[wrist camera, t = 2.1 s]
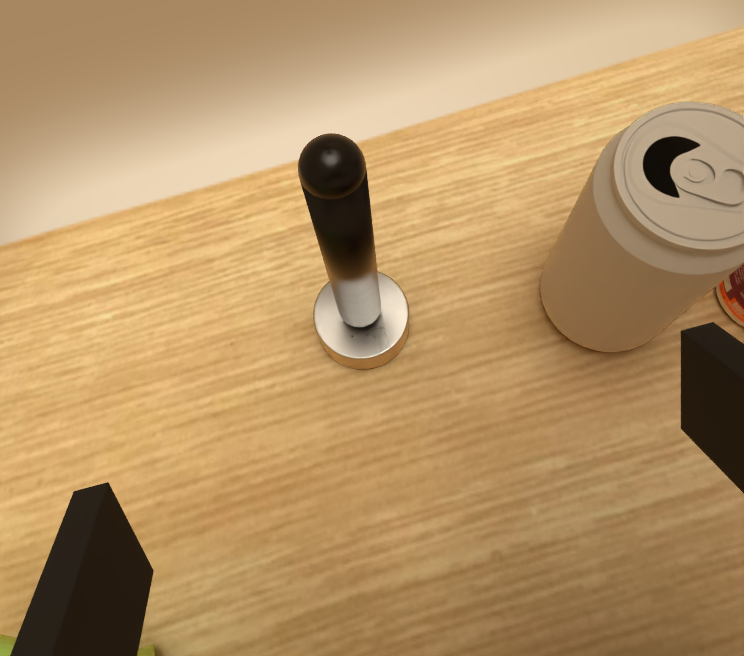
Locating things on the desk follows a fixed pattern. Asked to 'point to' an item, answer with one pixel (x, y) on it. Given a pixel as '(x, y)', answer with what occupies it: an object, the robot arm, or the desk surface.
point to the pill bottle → (733, 295)
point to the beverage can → (650, 228)
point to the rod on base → (350, 259)
